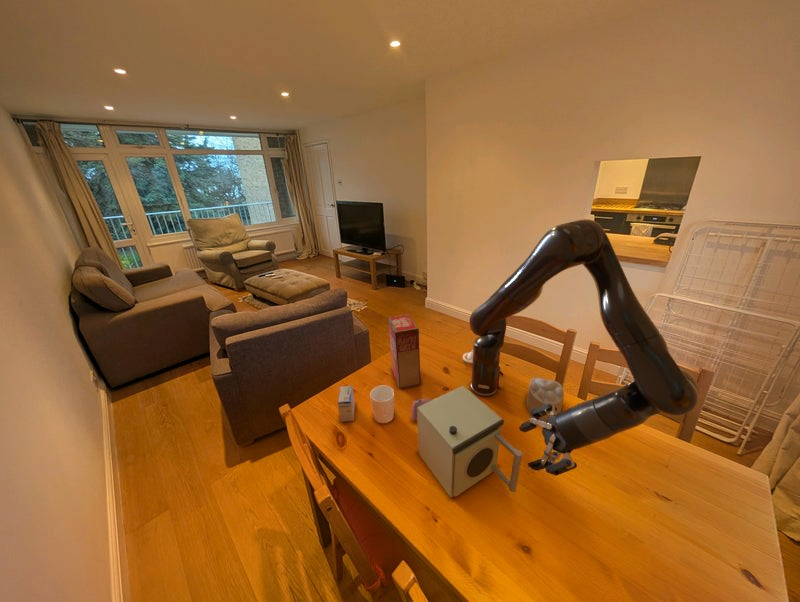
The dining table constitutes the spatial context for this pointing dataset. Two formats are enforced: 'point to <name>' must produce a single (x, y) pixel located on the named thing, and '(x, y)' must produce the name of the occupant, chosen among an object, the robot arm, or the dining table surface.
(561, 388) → the lumpy-topped squat cylinder
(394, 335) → the food packaging
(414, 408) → the video game controller
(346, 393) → the medicine box
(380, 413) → the white cup
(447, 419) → the washer
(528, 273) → the robot arm
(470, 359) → the ring around a ball
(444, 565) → the dining table surface
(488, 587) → the dining table surface
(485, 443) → the washer door
